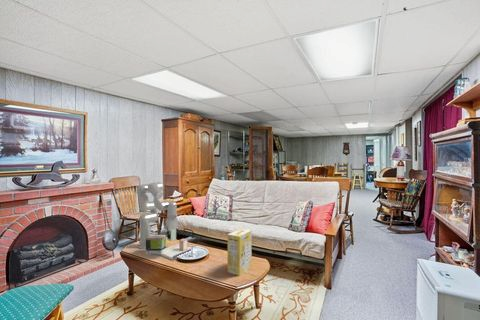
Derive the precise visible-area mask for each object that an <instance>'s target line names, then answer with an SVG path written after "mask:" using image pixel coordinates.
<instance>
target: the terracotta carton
mask: <svg viewBox="0 0 480 320" xmlns="http://www.w3.org/2000/svg"><path fill="white" fill-rule="evenodd" d="M178 244H179V250H181V251H185V250H187V249H188V239H187V238H181V239H179V243H178Z"/></svg>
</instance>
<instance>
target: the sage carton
mask: <svg viewBox="0 0 480 320" xmlns="http://www.w3.org/2000/svg"><path fill="white" fill-rule="evenodd" d="M175 240H176V241H177V232H176V229H174V230H171V231H170V239H168V238H167V237H166V241H170V242H173V241H175Z"/></svg>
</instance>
